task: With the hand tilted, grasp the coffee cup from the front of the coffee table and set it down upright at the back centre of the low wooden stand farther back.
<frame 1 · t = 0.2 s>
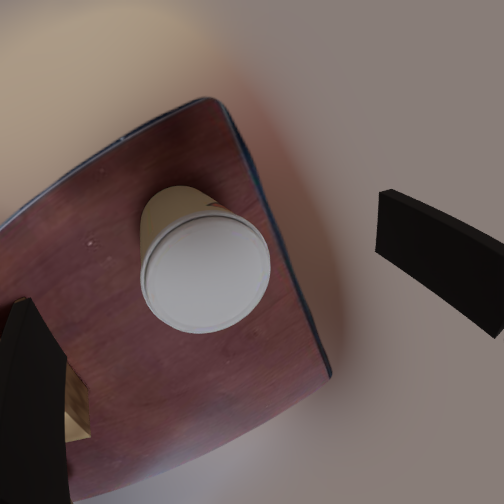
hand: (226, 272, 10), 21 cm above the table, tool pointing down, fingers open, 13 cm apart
coffee cup: (177, 221, 31), on the table
wooden stand: (16, 361, 28), on the table
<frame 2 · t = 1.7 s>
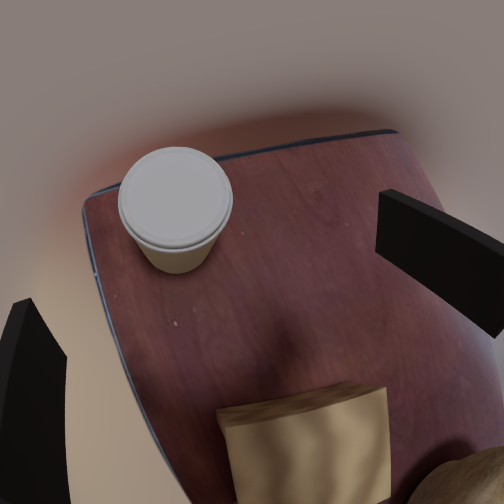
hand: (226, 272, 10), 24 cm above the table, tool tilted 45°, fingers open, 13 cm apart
coffee cup: (176, 241, 35), on the table
vase: (429, 497, 31), on the table
wooden stand: (293, 450, 30), on the table
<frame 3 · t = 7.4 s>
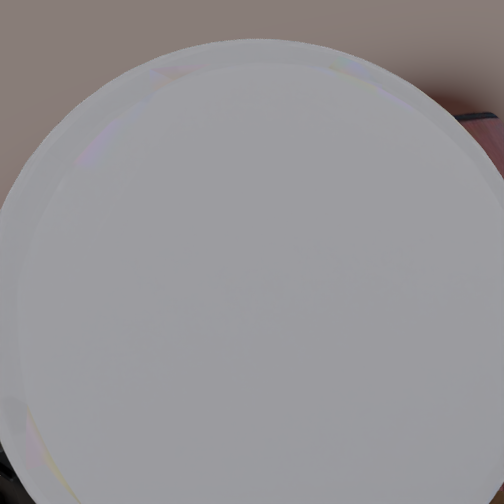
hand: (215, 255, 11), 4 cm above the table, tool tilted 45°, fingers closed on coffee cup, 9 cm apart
coffee cup: (232, 342, 14), on the table, touching gripper
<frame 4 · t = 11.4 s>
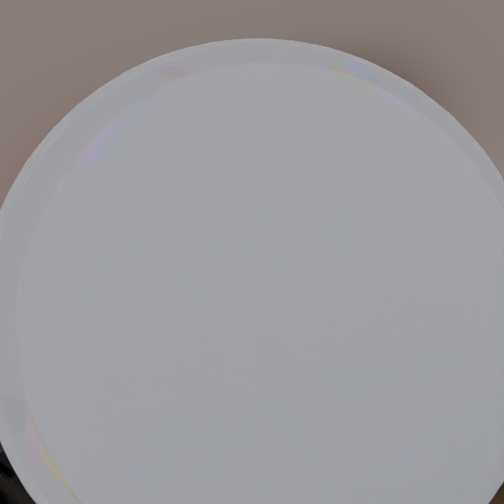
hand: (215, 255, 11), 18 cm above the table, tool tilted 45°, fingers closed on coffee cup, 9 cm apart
coffee cup: (232, 342, 14), point 14 cm above the table, touching gripper
when the fingers open (12 cm above the table, at t = 15.8 s): coffee cup stays where it is, resting on wooden stand.
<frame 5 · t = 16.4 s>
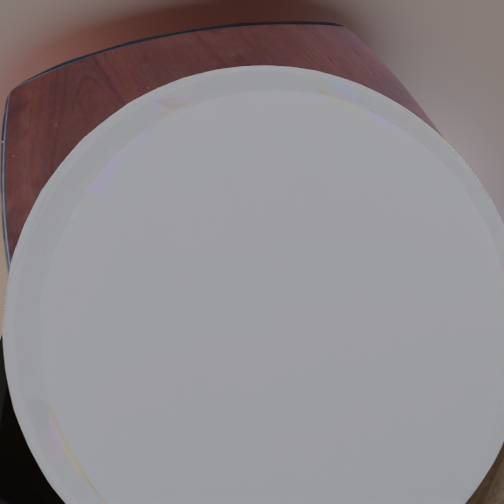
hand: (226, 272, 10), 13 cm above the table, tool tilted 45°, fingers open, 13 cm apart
coffee cup: (232, 344, 15), point 8 cm above the table, touching wooden stand
vase: (447, 459, 22), on the table
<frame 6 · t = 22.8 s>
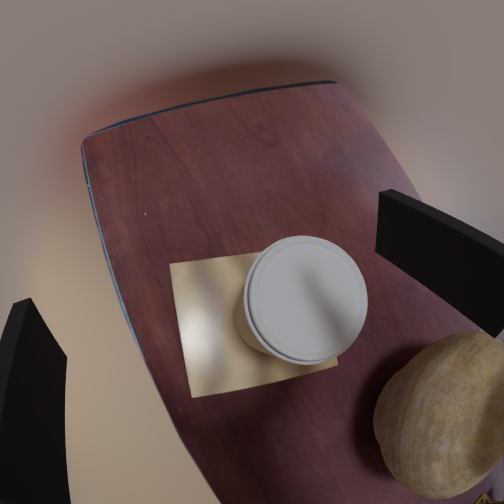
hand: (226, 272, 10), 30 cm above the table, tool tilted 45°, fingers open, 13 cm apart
coffee cup: (270, 316, 32), point 8 cm above the table, touching wooden stand
vase: (404, 408, 39), on the table
wooden stand: (244, 324, 39), on the table
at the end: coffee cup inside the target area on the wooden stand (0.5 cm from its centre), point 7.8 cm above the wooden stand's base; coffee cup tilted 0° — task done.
